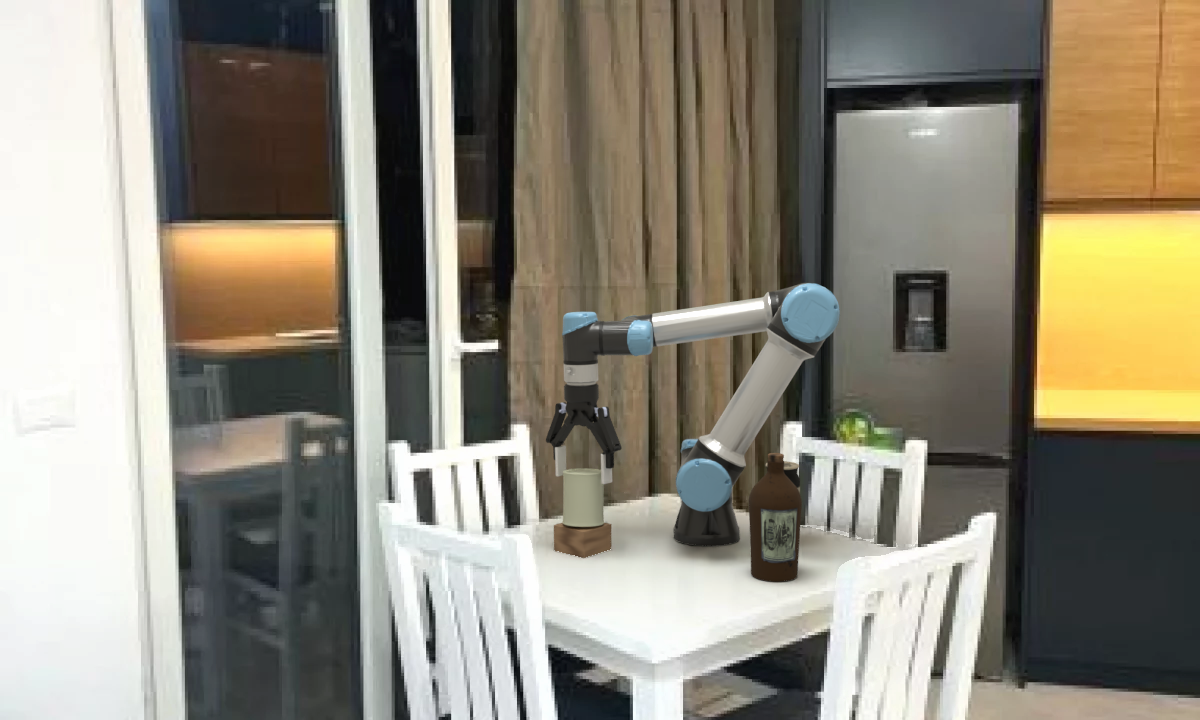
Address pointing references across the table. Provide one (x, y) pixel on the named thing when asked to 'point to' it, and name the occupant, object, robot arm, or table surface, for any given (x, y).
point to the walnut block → (582, 539)
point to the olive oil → (775, 524)
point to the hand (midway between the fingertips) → (583, 479)
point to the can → (582, 497)
